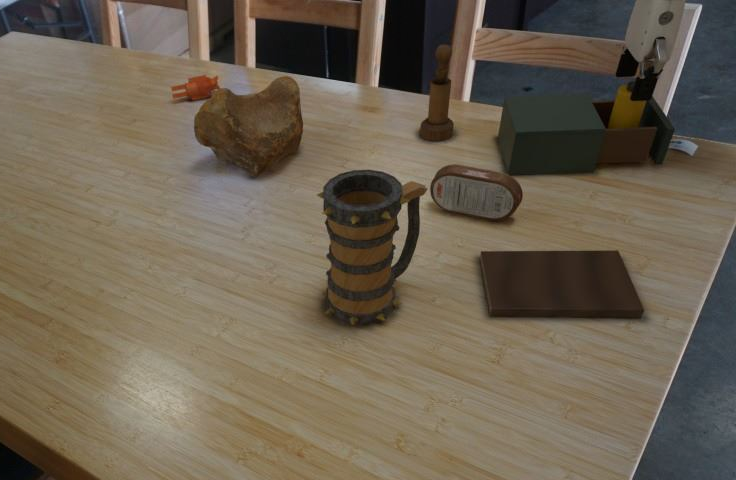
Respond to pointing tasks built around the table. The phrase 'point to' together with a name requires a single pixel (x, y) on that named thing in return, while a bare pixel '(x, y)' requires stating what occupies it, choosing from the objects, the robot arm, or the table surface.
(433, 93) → the mortar and pestle
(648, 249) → the table surface
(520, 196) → the tin
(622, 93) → the yellow bottle
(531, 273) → the board
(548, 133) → the cabinet
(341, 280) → the mug
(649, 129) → the drawer
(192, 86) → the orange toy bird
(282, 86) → the rough brown rock
